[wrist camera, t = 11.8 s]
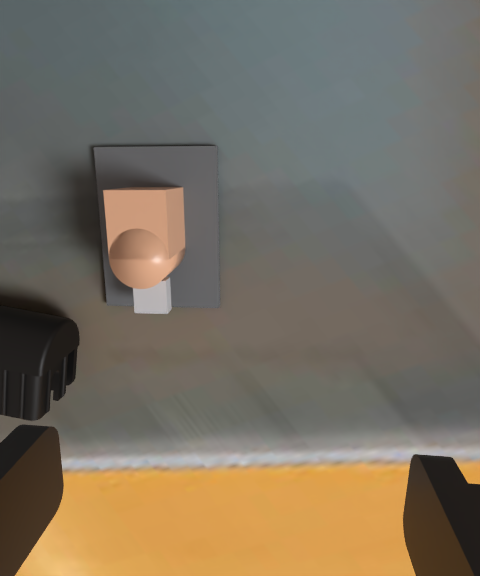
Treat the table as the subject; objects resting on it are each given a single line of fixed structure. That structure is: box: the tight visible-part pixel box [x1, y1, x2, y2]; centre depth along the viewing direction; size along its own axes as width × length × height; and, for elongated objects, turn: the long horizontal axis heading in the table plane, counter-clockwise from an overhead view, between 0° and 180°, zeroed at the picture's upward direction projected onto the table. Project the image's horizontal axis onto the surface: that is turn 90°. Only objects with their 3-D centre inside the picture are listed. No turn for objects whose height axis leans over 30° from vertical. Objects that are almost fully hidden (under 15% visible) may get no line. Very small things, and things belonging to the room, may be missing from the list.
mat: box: [94, 146, 220, 308], centre depth 34 cm, size 12×9×1 cm
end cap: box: [0, 305, 79, 421], centre depth 34 cm, size 10×7×7 cm
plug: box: [103, 187, 185, 314], centre depth 31 cm, size 9×4×5 cm, turn 1°
